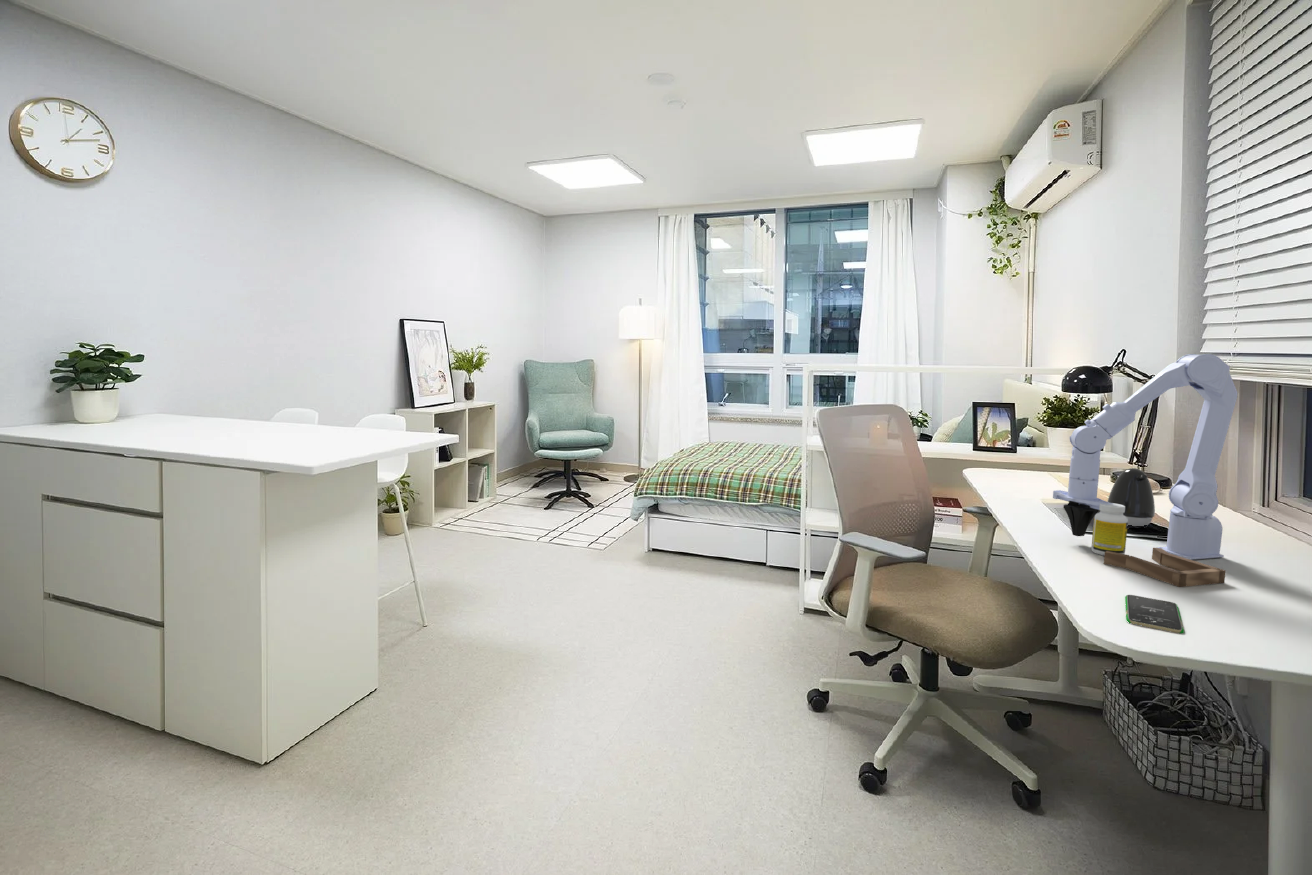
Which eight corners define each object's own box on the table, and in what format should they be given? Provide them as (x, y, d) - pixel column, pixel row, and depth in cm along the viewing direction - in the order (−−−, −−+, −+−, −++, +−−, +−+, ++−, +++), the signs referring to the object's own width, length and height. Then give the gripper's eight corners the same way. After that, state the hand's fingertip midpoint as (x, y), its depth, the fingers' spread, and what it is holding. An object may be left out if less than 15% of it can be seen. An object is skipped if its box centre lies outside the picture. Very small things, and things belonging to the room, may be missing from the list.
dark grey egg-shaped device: (1117, 530, 166) (1123, 471, 164) (1097, 520, 176) (1102, 464, 174) (1162, 532, 164) (1169, 472, 162) (1139, 522, 175) (1145, 465, 173)
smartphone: (1177, 602, 117) (1185, 631, 105) (1177, 607, 117) (1184, 636, 105) (1125, 593, 121) (1126, 619, 109) (1124, 598, 121) (1126, 625, 109)
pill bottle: (1130, 558, 144) (1135, 508, 142) (1098, 556, 145) (1103, 507, 143) (1116, 550, 150) (1121, 502, 148) (1086, 548, 151) (1090, 501, 149)
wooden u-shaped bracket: (1156, 558, 144) (1157, 547, 144) (1231, 582, 129) (1233, 569, 129) (1100, 562, 140) (1101, 551, 140) (1171, 587, 126) (1172, 575, 125)
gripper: (1044, 473, 159) (1039, 528, 161) (1096, 484, 145) (1090, 545, 147) (1068, 472, 160) (1063, 526, 162) (1123, 483, 146) (1116, 543, 148)
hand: (1078, 535), depth 155 cm, fingers closed
